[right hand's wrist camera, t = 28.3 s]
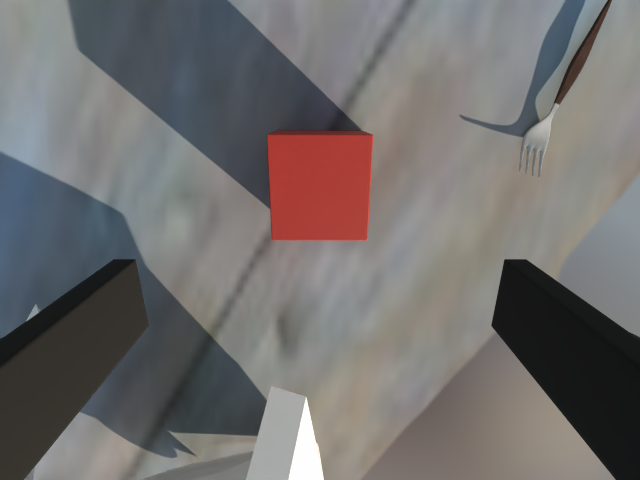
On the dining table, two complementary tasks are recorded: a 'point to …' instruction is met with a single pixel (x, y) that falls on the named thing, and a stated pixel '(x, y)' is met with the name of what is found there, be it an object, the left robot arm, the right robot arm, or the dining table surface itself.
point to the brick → (319, 184)
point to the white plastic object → (261, 447)
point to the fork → (559, 97)
